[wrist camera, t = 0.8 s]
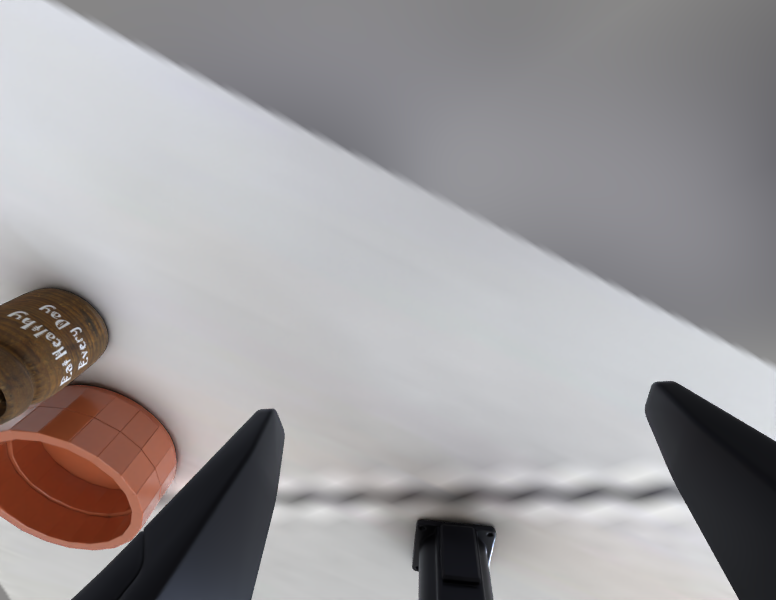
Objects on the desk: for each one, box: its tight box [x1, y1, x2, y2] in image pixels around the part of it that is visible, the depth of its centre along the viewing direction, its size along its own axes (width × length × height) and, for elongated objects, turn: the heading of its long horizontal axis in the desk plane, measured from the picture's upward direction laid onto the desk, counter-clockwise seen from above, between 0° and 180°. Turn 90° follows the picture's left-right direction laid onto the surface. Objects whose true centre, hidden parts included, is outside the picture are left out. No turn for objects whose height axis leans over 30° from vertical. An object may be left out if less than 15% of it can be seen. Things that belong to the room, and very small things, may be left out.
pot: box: [0, 385, 177, 550], centre depth 30 cm, size 12×12×5 cm
